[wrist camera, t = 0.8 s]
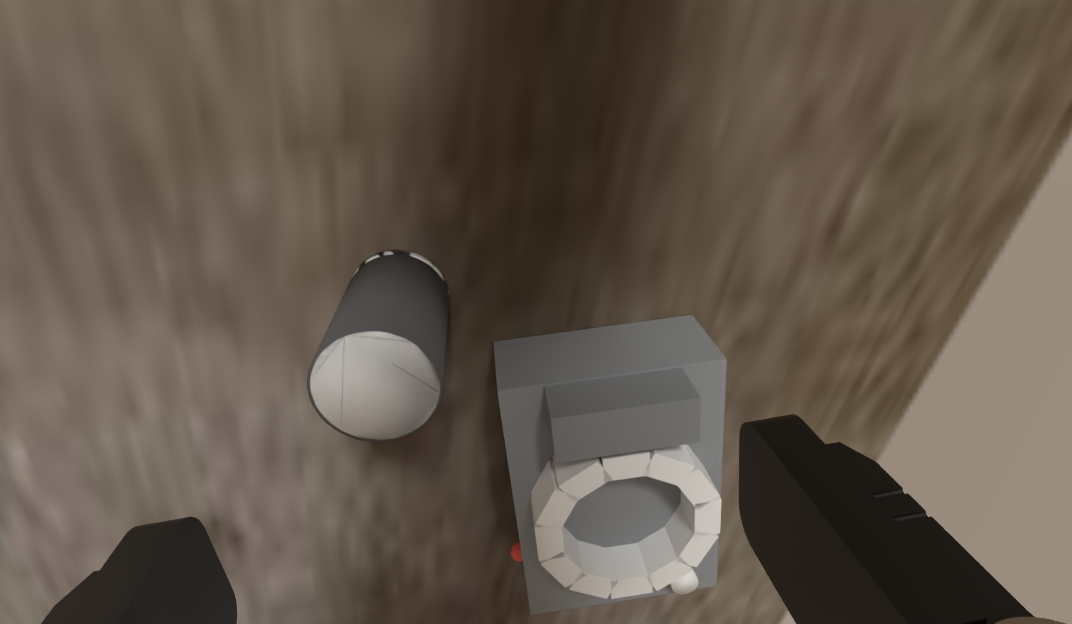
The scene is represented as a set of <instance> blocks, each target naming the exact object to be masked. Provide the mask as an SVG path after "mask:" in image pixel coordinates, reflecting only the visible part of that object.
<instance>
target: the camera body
mask: <svg viewBox="0 0 1072 624" xmlns="http://www.w3.org/2000/svg"><path fill="white" fill-rule="evenodd" d="M493 344H494V357H495V370H496V382H497V393H498V400H499V406H500V413H501V420H502V426H503V433H504V440H505V447H506V453H507V460H508V467H509V473H510V480H511V487H512V493H513V500H514V507H515V513H516V520H517V527H518V533H519V540H520V542H517V543H515V544H514V545H513V546H512V548H511V556H512V558H513V559H514V560H515V561H517V562H523V567H524V574H525V580H526V587H527V594H528V600H529V607H530V614H531V615H536V614H543V613H549V612H555V611H562V610H568V609H574V608H581V607H587V606H593V605H600V604H606V603H612V602H619V601H625V600H631V599H638V598H644V597H650V596H657V595H663V594H669V593H677V594H687V593H690V592H692V591H693V590H695V589H701V588H707V587H713V586H717V566H718V544H719V533H720V521H721V476H722V454H723V431H724V409H725V386H726V364H727V359H726V357H725V356H724V355H723V354H722V352H721V351H720V350H719V348H718V347H717V346H716V345H715V343H714V342H713V341H712V340H711V338H710V337H709V336H708V335H707V333H706V332H705V331H704V330H703V328H702V327H701V326H700V324H699V323H698V322H697V321H696V319H695V318H694V317H693V316H692V315H687V316H679V317H672V318H664V319H657V320H649V321H642V322H635V323H627V324H620V325H612V326H605V327H598V328H590V329H583V330H575V331H568V332H561V333H553V334H546V335H538V336H531V337H523V338H516V339H509V340H501V341H494V342H493Z"/></svg>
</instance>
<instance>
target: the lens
mask: <svg viewBox="0 0 1072 624" xmlns="http://www.w3.org/2000/svg"><path fill="white" fill-rule="evenodd" d="M449 301H450V294H449V288H448V284H447V281H446V279H445V277H444V275H443V274H442V272H441V271H440V270H439V268H438V267H437V266H436V265H435V264H434V263H432V262H431V261H430V260H429V259H427V258H425V257H424V256H422V255H419V254H417V253H414V252H411V251H406V250H389V251H383V252H380V253H377V254H375V255H373V256H371V257H370V258H368V259H367V260H365V261H364V262H363V263H362V264H361V265H360V266H359V267H358V268H357V270H356V272H355V273H354V275H353V277H352V279H351V281H350V283H349V285H348V288H347V290H346V292H345V294H344V296H343V298H342V300H341V302H340V304H339V306H338V308H337V310H336V312H335V315H334V317H333V319H332V321H331V323H330V325H329V327H328V329H327V331H326V333H325V335H324V337H323V340H322V342H321V344H320V346H319V348H318V350H317V352H316V354H315V356H314V358H313V360H312V363H311V365H310V367H309V371H308V376H307V389H308V394H309V398H310V400H311V403H312V405H313V407H314V408H315V410H316V412H317V413H318V414H319V416H320V417H321V418H322V419H323V420H324V421H325V422H326V423H327V424H328V425H330V426H331V427H332V428H334V429H335V430H337V431H339V432H340V433H342V434H345V435H347V436H349V437H352V438H355V439H359V440H363V441H371V442H385V441H392V440H398V439H401V438H404V437H407V436H409V435H411V434H413V433H415V432H417V431H418V430H420V429H421V428H422V427H424V426H425V425H426V424H427V423H428V422H429V421H430V420H431V419H432V417H433V416H434V415H435V413H436V411H437V410H438V408H439V405H440V402H441V399H442V394H443V382H444V368H445V355H446V342H447V328H448V315H449Z"/></svg>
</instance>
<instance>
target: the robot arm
mask: <svg viewBox="0 0 1072 624" xmlns="http://www.w3.org/2000/svg"><path fill="white" fill-rule="evenodd" d="M739 510H740V516H741V521H742V524H743V528H744V531H745V534H746V536H747V539H748V541H749V543H750V545H751V547H752V549H753V551H754V552H755V554H756V556H757V557H758V559H759V561H760V563H761V564H762V566H763V568H764V569H765V571H766V573H767V575H768V576H769V578H770V580H771V581H772V583H773V585H774V587H775V588H776V590H777V592H778V593H779V595H780V597H781V598H782V600H783V602H784V604H785V605H786V607H787V609H788V610H789V612H790V614H791V616H792V617H793V619H794V621H795V622H796V624H1065V623H1062V622H1058V621H1054V620H1050V619H1044V618H1037V617H1034V616H1033V615H1032V614H1031V613H1029V612H1028V611H1027V610H1026V609H1025V608H1024V607H1023V606H1022V605H1021V604H1020V603H1019V602H1018V601H1017V600H1016V599H1015V598H1014V597H1013V596H1012V595H1011V594H1010V593H1009V592H1008V591H1007V590H1006V589H1005V588H1004V587H1003V586H1002V585H1001V584H1000V583H999V582H998V581H997V580H996V579H994V577H992V576H991V574H989V573H988V572H987V571H986V570H985V569H984V568H983V567H982V566H981V565H980V564H979V563H978V562H977V561H976V560H975V559H974V558H973V557H972V556H971V555H970V554H969V553H968V552H967V551H966V550H965V549H964V548H963V547H962V546H961V545H960V544H959V543H958V542H957V541H956V540H955V539H954V538H953V537H952V536H951V535H950V534H949V533H948V532H947V531H945V530H944V528H943V527H941V525H940V524H939V523H938V522H937V521H935V519H934V518H932V517H928V516H927V515H926V511H925V510H924V509H923V508H922V507H921V506H920V505H919V504H918V503H917V502H916V501H915V500H914V499H913V498H912V497H911V496H910V495H909V494H904V492H903V490H902V487H901V486H900V485H899V484H898V483H897V482H896V481H895V480H894V479H893V478H892V477H891V476H890V475H889V474H888V473H886V471H885V470H884V469H882V468H881V467H880V465H879V464H878V463H876V462H875V461H873V460H872V459H870V458H868V457H866V456H864V455H862V454H861V453H859V452H857V451H855V450H853V449H851V448H849V447H848V446H846V445H844V444H842V443H840V442H837V443H831V444H826V445H825V443H824V442H823V441H822V440H821V439H820V438H819V437H818V436H817V435H816V434H815V433H814V432H813V431H812V430H811V428H810V427H809V426H808V425H807V424H806V423H805V422H804V421H803V420H802V419H801V418H800V417H798V416H797V415H794V414H792V415H786V416H780V417H774V418H768V419H763V420H757V421H751V422H745V423H743V425H742V426H741V429H740V438H739ZM236 622H237V604H236V598H235V594H234V592H233V589H232V587H231V585H230V582H229V580H228V578H227V576H226V574H225V571H224V569H223V567H222V565H221V563H220V560H219V558H218V556H217V554H216V552H215V549H214V547H213V545H212V543H211V541H210V538H209V536H208V534H207V532H206V530H205V528H204V526H203V524H202V523H201V522H200V521H199V520H198V519H197V518H194V517H187V518H181V519H175V520H169V521H164V522H158V523H152V524H146V525H141V526H136V527H134V528H132V529H131V530H130V531H128V532H127V534H126V535H125V536H124V537H123V539H122V540H121V542H120V543H119V544H118V546H117V547H116V548H115V550H114V551H113V553H112V554H111V555H110V557H109V558H108V560H107V561H106V562H105V564H104V565H103V567H102V568H101V569H100V571H94V572H93V573H92V574H90V575H89V576H88V577H87V578H86V579H85V580H84V581H82V582H81V583H80V584H79V585H78V586H77V587H76V588H74V589H73V590H72V591H71V592H70V593H69V594H68V595H66V596H65V597H64V598H63V599H62V600H61V601H60V602H58V603H57V604H56V605H55V606H54V607H53V609H52V610H51V611H50V613H49V614H48V615H47V617H46V618H45V619H44V620H43V622H42V623H41V624H236Z"/></svg>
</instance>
